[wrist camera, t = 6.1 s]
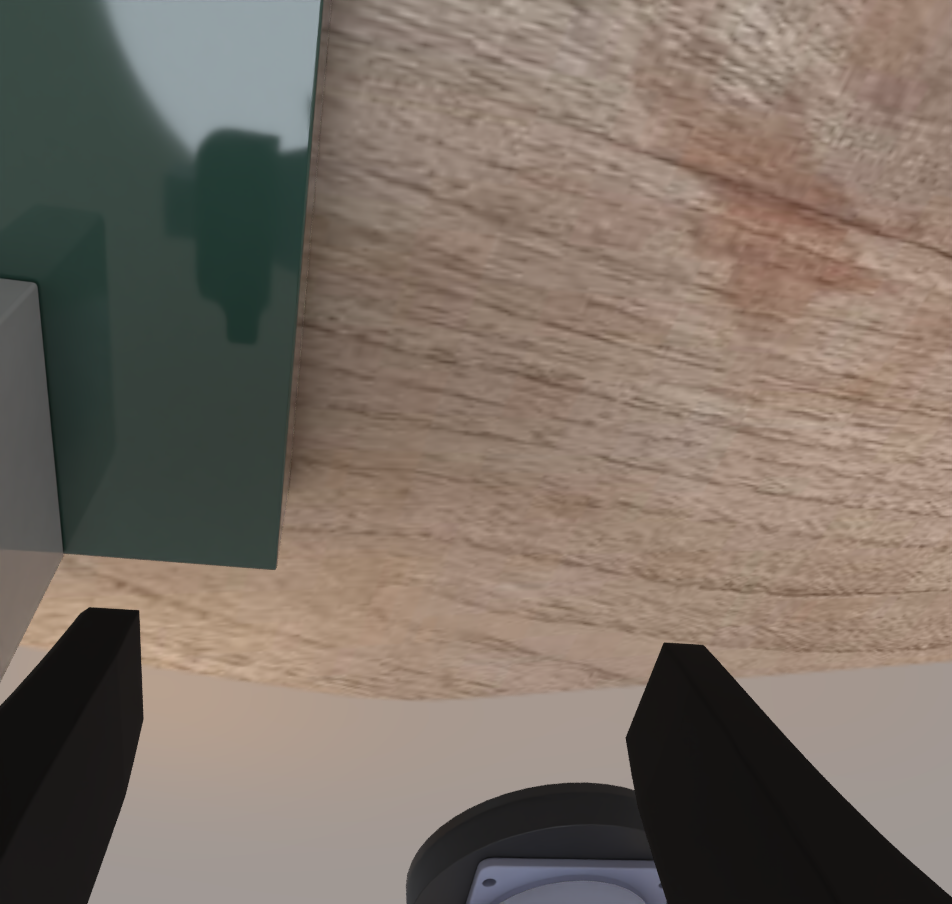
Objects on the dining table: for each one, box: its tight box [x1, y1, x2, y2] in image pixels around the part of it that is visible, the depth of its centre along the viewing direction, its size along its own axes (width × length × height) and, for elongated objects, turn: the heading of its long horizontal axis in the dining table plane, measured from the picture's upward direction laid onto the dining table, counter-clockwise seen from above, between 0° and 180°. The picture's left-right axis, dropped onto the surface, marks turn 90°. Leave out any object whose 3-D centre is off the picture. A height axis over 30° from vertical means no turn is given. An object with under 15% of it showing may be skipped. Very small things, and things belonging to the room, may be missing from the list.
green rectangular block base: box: [0, 0, 332, 570], centre depth 15 cm, size 12×10×3 cm
